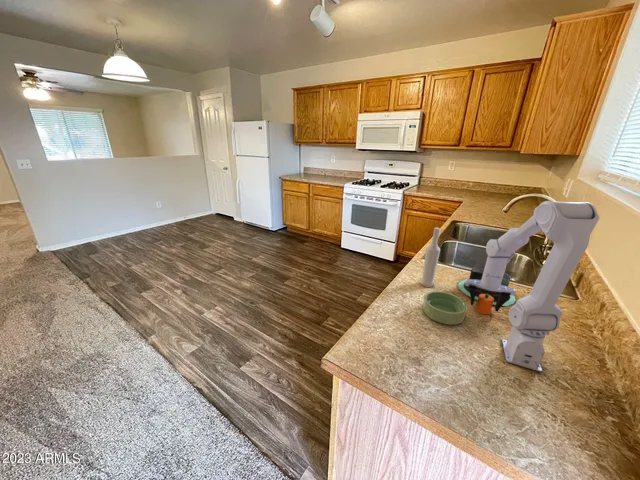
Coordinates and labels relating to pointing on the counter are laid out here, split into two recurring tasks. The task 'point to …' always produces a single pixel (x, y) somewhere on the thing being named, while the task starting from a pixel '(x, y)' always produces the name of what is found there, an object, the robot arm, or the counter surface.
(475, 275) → the chocolate cake
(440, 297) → the bowl
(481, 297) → the pepper
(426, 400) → the counter surface
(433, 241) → the bottle
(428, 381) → the counter surface
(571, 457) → the counter surface
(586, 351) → the counter surface
